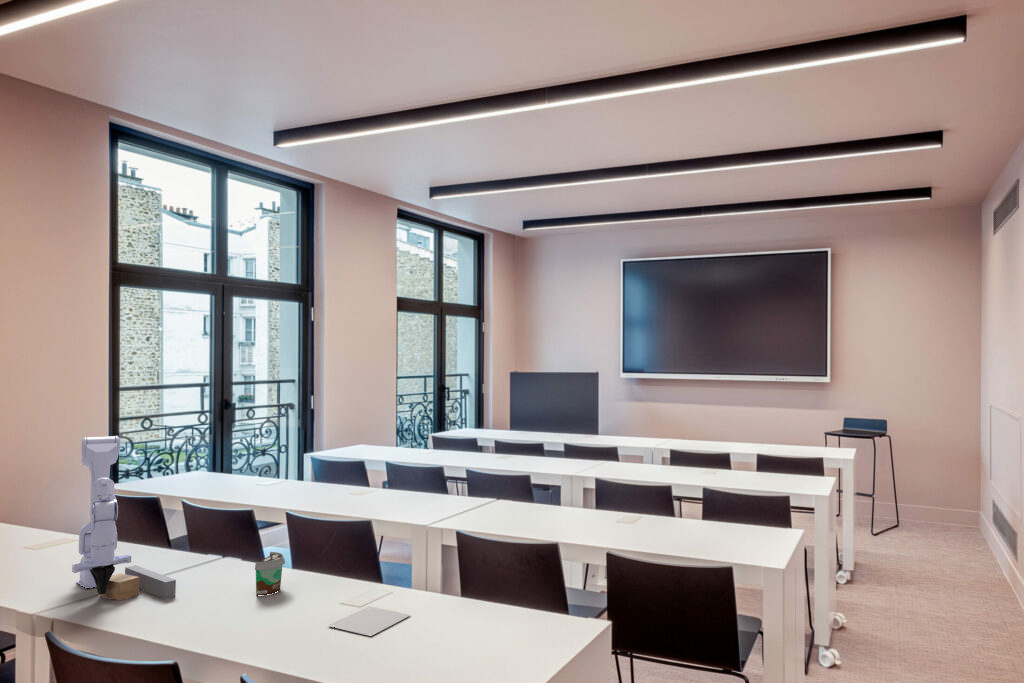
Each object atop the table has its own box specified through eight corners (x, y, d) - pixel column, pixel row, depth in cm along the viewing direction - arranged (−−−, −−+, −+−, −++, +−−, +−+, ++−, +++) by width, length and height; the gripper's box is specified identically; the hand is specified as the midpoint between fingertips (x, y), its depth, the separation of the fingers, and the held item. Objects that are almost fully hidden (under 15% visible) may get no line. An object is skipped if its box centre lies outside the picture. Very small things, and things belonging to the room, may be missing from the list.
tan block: (100, 596, 198) (101, 578, 199) (120, 590, 204) (120, 573, 204) (119, 600, 195) (119, 582, 195) (138, 594, 201) (139, 576, 201)
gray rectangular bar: (124, 584, 211) (125, 567, 211) (134, 581, 213) (135, 565, 214) (164, 600, 197) (165, 582, 197) (175, 597, 199) (175, 579, 199)
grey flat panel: (299, 621, 181) (299, 619, 181) (361, 594, 203) (361, 592, 203) (370, 638, 170) (370, 635, 170) (428, 608, 192) (428, 605, 192)
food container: (275, 598, 198) (276, 563, 199) (254, 598, 198) (254, 562, 199) (290, 585, 210) (291, 551, 211) (270, 584, 211) (270, 551, 211)
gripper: (78, 551, 188) (77, 602, 187) (136, 542, 199) (134, 590, 198) (70, 547, 193) (68, 597, 192) (126, 538, 204) (125, 585, 203)
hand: (101, 593), depth 196 cm, fingers closed
